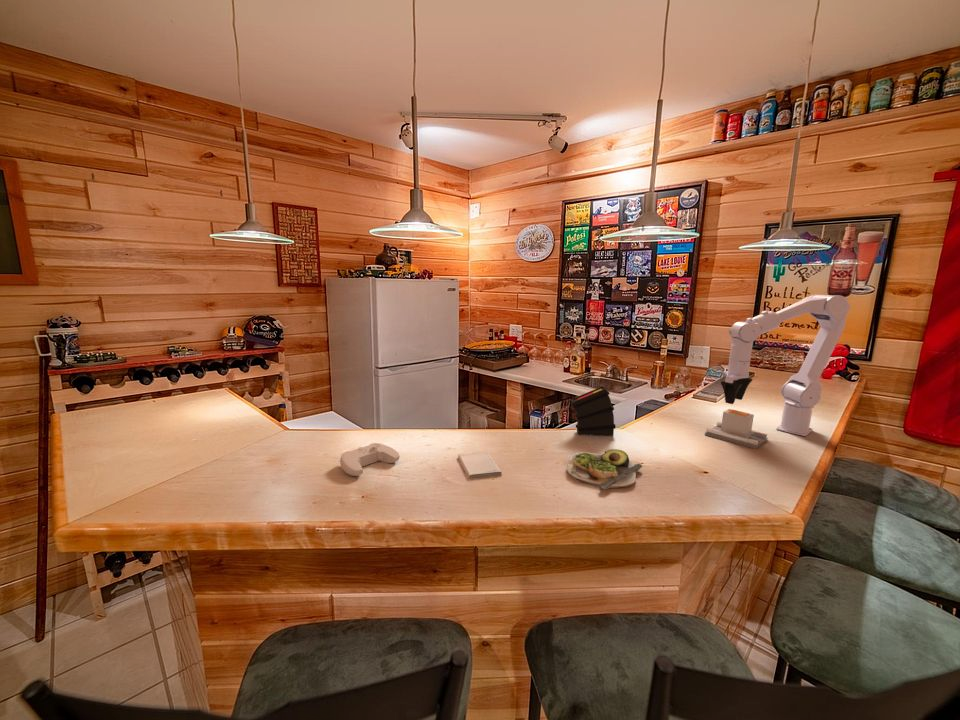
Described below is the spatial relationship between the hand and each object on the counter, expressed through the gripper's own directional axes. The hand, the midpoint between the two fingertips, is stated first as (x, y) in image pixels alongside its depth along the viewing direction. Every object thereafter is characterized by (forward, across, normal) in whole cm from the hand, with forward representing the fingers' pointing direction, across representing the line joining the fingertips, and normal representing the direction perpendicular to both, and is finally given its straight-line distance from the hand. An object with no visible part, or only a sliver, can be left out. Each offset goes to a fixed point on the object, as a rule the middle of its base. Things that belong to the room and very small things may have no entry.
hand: (733, 401), depth 137 cm
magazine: (+10, +40, -26) cm, 49 cm away
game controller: (+10, +104, -49) cm, 115 cm away
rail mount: (+9, +7, +4) cm, 12 cm away
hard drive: (+10, +82, -31) cm, 88 cm away
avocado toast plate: (+10, +60, -9) cm, 61 cm away
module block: (+9, +7, +4) cm, 12 cm away
